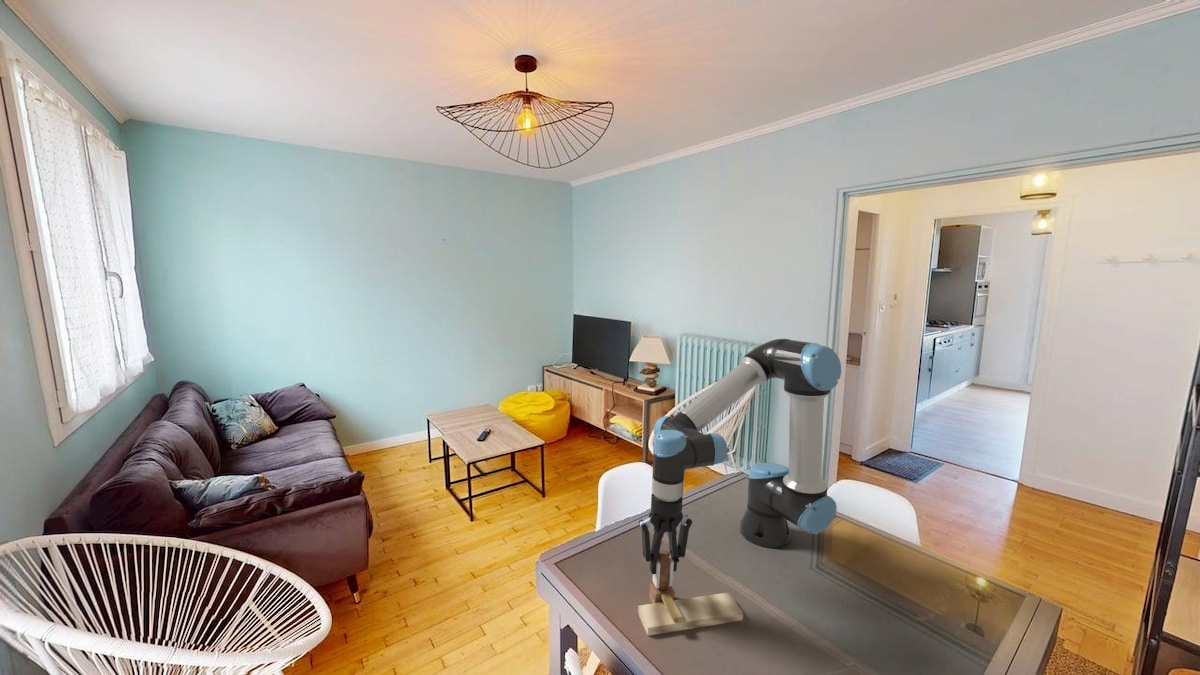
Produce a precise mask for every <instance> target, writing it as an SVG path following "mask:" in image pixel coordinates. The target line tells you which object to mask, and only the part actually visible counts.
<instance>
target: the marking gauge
mask: <svg viewBox="0 0 1200 675" xmlns="http://www.w3.org/2000/svg"><path fill="white" fill-rule="evenodd" d="M670 556H671V555H670V551H668V550H664V549H663V550H661V549H660V551H659V557H658V560H659V562H660V582H659V588H656V587H655V585H654V583H653V582H650V583H649V600H650V602H651V604H653V603H660V602H664V604H665V606H666V608H667V610H668V612H669V614H670V616H671V618H672V620H673V621H674V622H679V621H682V616H681V614H680V612H679V610H678V608H677V606H676V605H675V603H674V601H673V600H675V595H676V594H675V593H676V591H675V590H674V588H673V586H669V584H668V578H669V560H670Z"/></svg>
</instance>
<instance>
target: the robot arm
mask: <svg viewBox="0 0 1200 675" xmlns="http://www.w3.org/2000/svg"><path fill="white" fill-rule="evenodd" d="M841 375H842V364H841V360H840V358H839V355H838V354H837V352H835V351H834V350H833V349H832V348H831V347H829V346H826V345H822V344H819V343H815V342H807V341H801V340H793V339H789V338H777V339H773V340H769V341H767V342H765V343H763V344H761V345H759V346H757V347H755V348H753V349H752V350H750V351H749V352H748V353H746V354H745V355H743V356H742V357H741V358H740V359H739V364H737V365H736V366H735V367H734V368H733V369H732V370H730V371H729V372H728V373H726V374H725V375H724V376H723V377H722V378H720V379H719V380H718V381H717V382H716V383H714V384H712V386H710V387H709V388H708V389H706V390H705V391H704V392H702V394H700V395H699V396H698V397H696V398H695V399H694V400H693V401H691V402H690V403H689V404H687V405H686V406H685V407H684V408H683V409H681V410H680V411H679V412H678V413H676V414H675V415H674V416H668V415H666V416H665V415H664V416H661V417H660V418H659V419H657V420H656V422H655V424H654V426H653V434H654V440H653V441H654V442H653V448H652V453H653V455H652V456H653V457H652V478H651V479H652V480H651V481H652V482H651V496H650V500H651V501H650V513H649V515H648V518H646V519H645V520H644V519H640V520H639V521H638V524H639V527H640V528H641V544H642V555H643V558H644V559H645V562H647V563H648V562H649V571H650V573H651V574H652V583H654V585H655V587H656V588H659V582H660V562H659V560H658V557H659V551H661V546H662V540H663V538H664V534H665V533H667V537H668V547H669V553H670V560H669V578H668V584H669V586H672V587H673V585H674V572H676V571H677V569H678V568H677V567H678V563H679V562H680V559H679V558H685V556H686V551H687V544H688V540H689V530H690V528H691V527H692V524H693V520H692V519H691V517H689V515H688V514H685V515H683V512H682V511H683V500H684V498H683V496H684V480H685V472H686V471H685V470H691V469H699V468H704V467H709V466H710V467H712V466H715V465H718V464H721V463H724V462H725V461H726V460H727V457H728V454H729V453H728V451H729V450H728V449H729V448H728V444H727V441H726V439H725V438H724V436H722V435H721V434H720V433H710V432H709V433H706V434H704V433H702V432H701V431H702V430H703V429H704V428H706V427H707V426H708V425H709V424H711V423H712V422H713V421H714V420H715V419H717V418H718V417H719V416H721V414H723V413H724V412H725V411H727V409H729V408H730V407H731V406H732V405H734V404H735V403H736V402H737V401H738V400H740V399H741V398H742V397H743V396H744V395H746V394H747V393H748V392H749V391H751V390H752V389H753V388H754V387H755V386H757V385H763V384H765V383H766V382H767V381H769V380H771V379H776V378H777V379H781V380H783V391H784V392H785V393H786V394H787V395H788V396H789V418H788V419H789V422H788V423H789V425H788V426H789V430H788V433H789V434H788V436H789V437H788V438H789V439H788V440H789V441H788V467H787V466H786V465H784V464H780V463H775V462H759V463H755V464H753V465H752V466H751V467H750V471H749V476H748V487H747V488H748V489H747V490H748V491H747V505H746V510H745V512H744V513H743V515H742V516H743V517H742V518H741V520H740V522H739V523H740V524H739V532H740V534H741V536H742V537H743V538H745V539H746V540H747V541H749V542H751V543H753V544H755V545H757V546H760V547H765V548H769V549H770V548H771V549H774V548H775V549H776V548H783V547H786V546H787V545H788V544H789V543H790V539H791V532H790V528H789V523H788V522H790V523H792V525H794V526H797V527H798V528H799V529H800V530H804V532H806V533H809V534H815V535H816V534H820V533H821V532H824V531H825V530H826V529H827V528H828V527H829V526H830V525H831V523H832V522H833V521H834V519H835V516H836V514H837V506H838V505H837V503H836V501H835V500H834V498H833V497H832V496H829V495H828V483H827V481H826V480H824V479H823V477H822V476H823V474H822V473H823V472H822V471H823V442H824V440H823V439H824V438H823V436H824V402H825V401H824V400H825V398H827V396H829V395H830V394H831V390H833V389H834V388H835V387H837V386H838V383H839V381H838V380H840V379H841ZM651 524H652V526H653V535H652V536H653V537H652V541H651V537H650V535H651V534H650V531H649V530H650V529H651ZM679 524H680V526H679ZM678 526H679V532H677V527H678ZM677 533H678V534H677ZM677 535H678V538H677Z"/></svg>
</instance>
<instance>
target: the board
mask: <svg viewBox="0 0 1200 675" xmlns="http://www.w3.org/2000/svg"><path fill="white" fill-rule="evenodd" d="M673 601H674V603H675V605H676V606H677V608H678V610H679V612H680V614H681V616H682V621H679V622H674V621H673V620H672V618H671V616H670V614H669V612H668V610H667V608H666V606H665V604H664V602H660V603H653V604H652V603H647V604H641V605H638V607H637V614H638V616H639V619H640V622H641V624H642V626H643V629H644V631H645V633H646V635H647V636H648V637H649V636H654V635H662V634H667V633H673V632H681V631H686V630H691V629H697V628H703V627H710V626H715V625H721V624H727V623H734V622H741V621H743V620H744V611H743V610H742V609H741V607H740V606H739V605H738V604H737V602H736V601H735V599H734V598H733V597H732V596H731V593H730V592H722V593H716V594H714V593H713V594H710V595H702V596H695V597H688V598H682V599H681V598H680V599H674V600H673Z"/></svg>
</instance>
